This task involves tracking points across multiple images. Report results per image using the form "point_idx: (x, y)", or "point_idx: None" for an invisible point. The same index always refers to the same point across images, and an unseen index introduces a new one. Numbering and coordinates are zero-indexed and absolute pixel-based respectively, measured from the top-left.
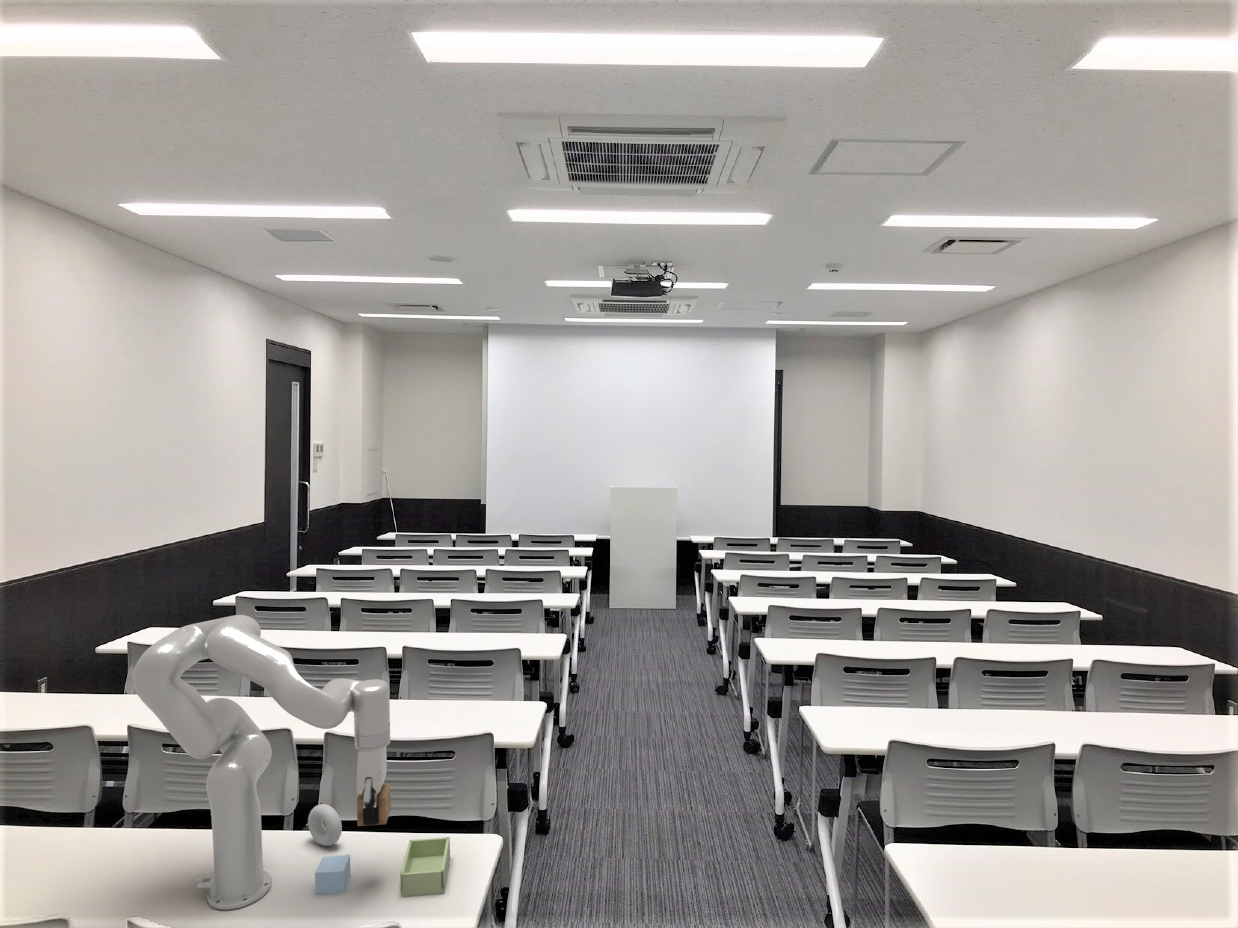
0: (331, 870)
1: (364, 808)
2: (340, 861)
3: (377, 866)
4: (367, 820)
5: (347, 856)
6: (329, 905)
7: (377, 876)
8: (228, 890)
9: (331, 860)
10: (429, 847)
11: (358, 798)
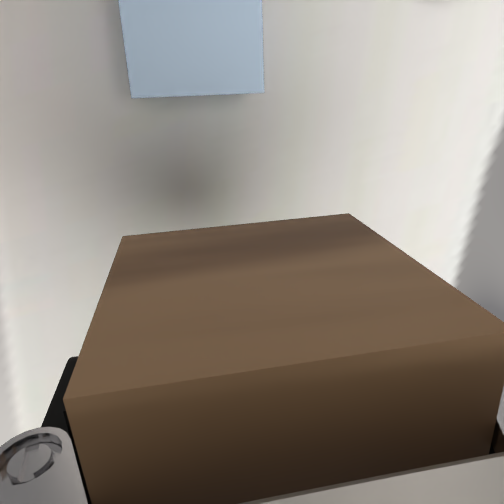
0: (136, 30)
1: (12, 449)
2: (211, 58)
3: (291, 183)
4: (69, 367)
5: (250, 83)
6: (51, 60)
7: (231, 199)
8: None
9: (222, 3)
10: None
11: (104, 407)
